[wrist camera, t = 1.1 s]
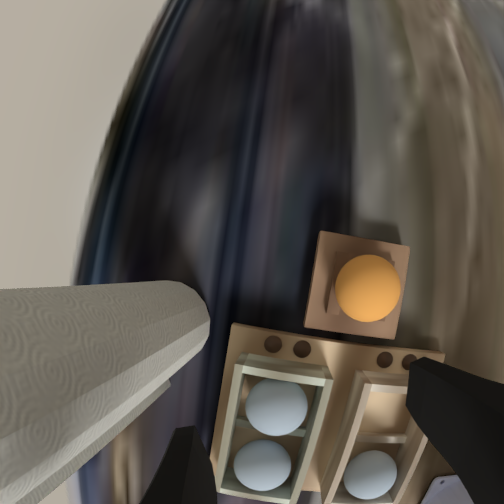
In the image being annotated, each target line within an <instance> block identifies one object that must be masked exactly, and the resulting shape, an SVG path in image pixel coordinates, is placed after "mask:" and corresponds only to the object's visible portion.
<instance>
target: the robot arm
mask: <svg viewBox="0 0 504 504" xmlns="http://www.w3.org/2000/svg"><path fill="white" fill-rule="evenodd" d="M405 406H406V407H407V409H408V411H409V412H410V414H411V416H412V418H413V419H414V421H415V422H416V424H417V426H418V427H419V428H420V429H421V431H422V432H423V433H424V434H425V436H426V437H427V438H428V439H429V440H430V442H431V443H432V444H433V445H434V446H435V448H436V449H437V450H438V451H439V452H440V454H441V455H442V456H443V457H444V458H445V460H446V461H447V462H448V463H449V464H450V466H451V467H452V468H453V470H454V471H455V472H456V474H457V475H451V476H442V477H437V478H435V479H434V480H433V481H432V483H431V485H430V487H429V489H428V491H427V493H426V495H425V497H424V499H423V500H422V502H421V504H504V384H501V383H498V382H494V381H491V380H487V379H484V378H481V377H478V376H475V375H473V374H470V373H467V372H464V371H462V370H459V369H456V368H454V367H451V366H449V365H446V364H444V363H441V362H438V361H436V360H433V359H430V358H427V357H422V358H420V359H417V360H415V361H413V362H410V368H409V378H408V388H407V396H406V404H405ZM442 480H443V481H442ZM441 481H442V482H441ZM139 504H217V490H216V484H215V477H214V472H213V466H212V462H211V460H210V458H209V456H208V454H207V452H206V450H205V447H204V445H203V443H202V441H201V439H200V437H199V434H198V432H197V430H196V427H195V426H188V427H182V428H176V429H175V430H174V431H173V434H172V437H171V439H170V442H169V444H168V447H167V449H166V451H165V454H164V456H163V458H162V461H161V463H160V465H159V467H158V469H157V471H156V473H155V475H154V478H153V480H152V482H151V484H150V485H149V487H148V489H147V491H146V493H145V494H144V496H143V498H142V500H141V501H140V503H139Z"/></svg>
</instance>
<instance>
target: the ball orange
mask: <svg viewBox="0 0 504 504" xmlns="http://www.w3.org/2000/svg"><path fill="white" fill-rule="evenodd" d="M400 291H401V284H400V279H399V276H398V273H397V271H396V270H395V268H394V267H393V265H392V264H391V263H389V262H388V261H387V260H385V259H384V258H382V257H379V256H376V255H361V256H358V257H355V258H353V259H352V260H350V261H349V262H347V263H346V264H345V265H344V266H343V267H342V269H341V270H340V272H339V274H338V276H337V279H336V284H335V294H336V299H337V301H338V304H339V306H340V307H341V309H342V310H343V311H344V312H345V313H346V314H347V315H348V316H349V317H351V318H353V319H355V320H358V321H361V322H373V321H377V320H380V319H382V318H384V317H385V316H387V315H388V314H389V313H390V312H391V311H392V310H393V309H394V307H395V306H396V304H397V302H398V300H399V297H400Z"/></svg>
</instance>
